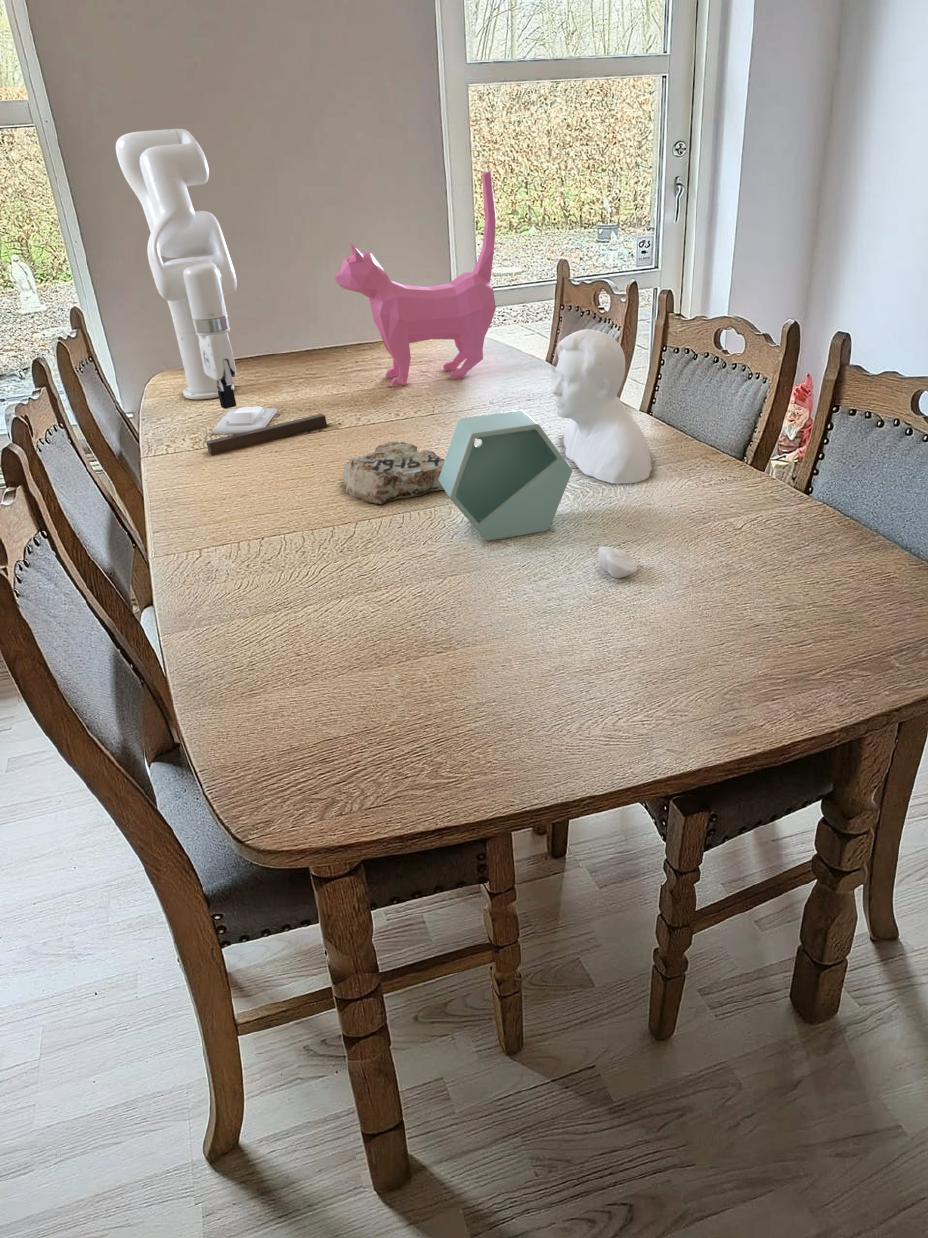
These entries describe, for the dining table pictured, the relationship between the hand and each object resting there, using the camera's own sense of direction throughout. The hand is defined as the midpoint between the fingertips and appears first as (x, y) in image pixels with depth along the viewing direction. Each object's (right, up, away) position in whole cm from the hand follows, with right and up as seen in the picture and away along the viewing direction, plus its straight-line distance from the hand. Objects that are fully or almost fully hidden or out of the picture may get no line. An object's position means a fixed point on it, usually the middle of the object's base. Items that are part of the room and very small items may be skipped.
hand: (228, 406), depth 200 cm
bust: (+80, -19, -39) cm, 91 cm away
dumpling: (+76, -43, -78) cm, 118 cm away
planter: (+61, -35, -63) cm, 94 cm away
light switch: (+6, -6, -7) cm, 11 cm away
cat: (+45, +11, +17) cm, 50 cm away
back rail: (+13, -11, -17) cm, 25 cm away
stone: (+41, -24, -41) cm, 63 cm away
